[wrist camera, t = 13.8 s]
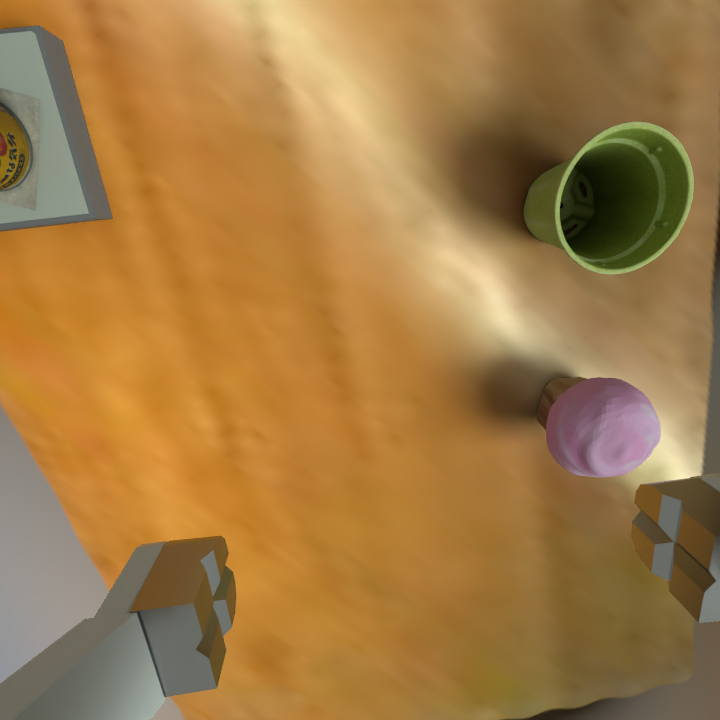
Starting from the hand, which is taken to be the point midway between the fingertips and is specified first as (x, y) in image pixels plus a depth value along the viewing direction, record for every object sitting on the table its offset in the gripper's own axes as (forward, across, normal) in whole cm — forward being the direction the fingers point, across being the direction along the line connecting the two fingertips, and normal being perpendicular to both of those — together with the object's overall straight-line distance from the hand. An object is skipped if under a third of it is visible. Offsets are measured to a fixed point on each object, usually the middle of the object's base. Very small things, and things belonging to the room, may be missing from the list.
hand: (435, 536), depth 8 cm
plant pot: (+31, -18, -6) cm, 36 cm away
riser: (+30, +24, -14) cm, 41 cm away
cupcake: (+31, -19, +12) cm, 39 cm away
